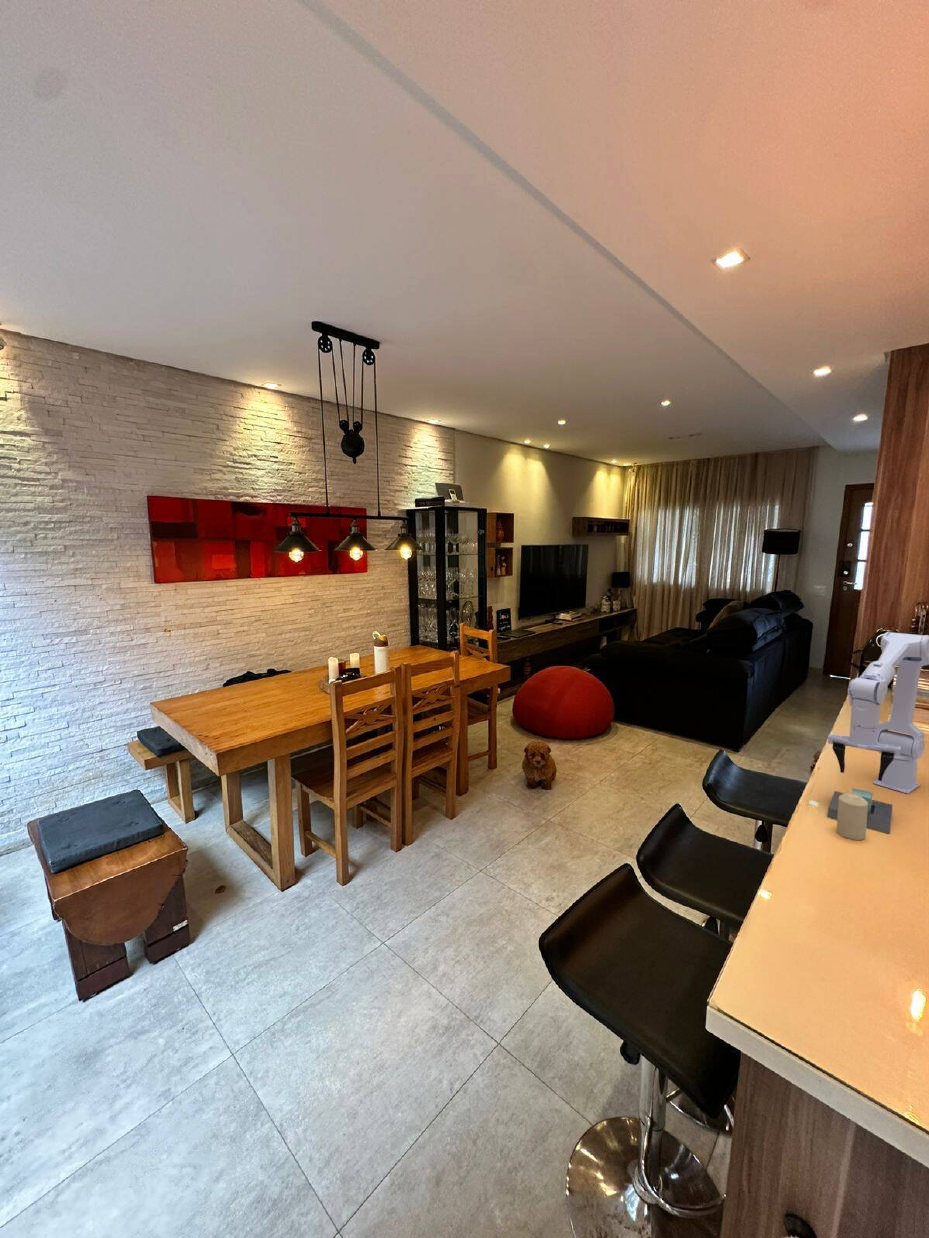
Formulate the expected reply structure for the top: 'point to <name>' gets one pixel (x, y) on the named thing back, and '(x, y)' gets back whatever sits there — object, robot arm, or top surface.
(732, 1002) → the top surface
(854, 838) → the candle
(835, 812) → the square hole plate
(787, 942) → the top surface
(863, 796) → the peg block
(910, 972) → the top surface
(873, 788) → the top surface
